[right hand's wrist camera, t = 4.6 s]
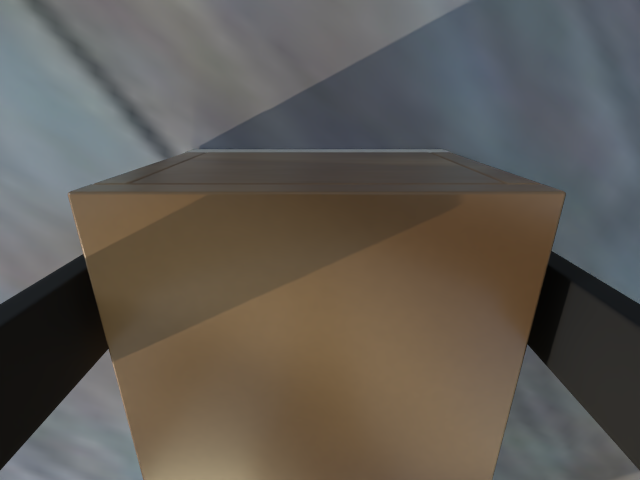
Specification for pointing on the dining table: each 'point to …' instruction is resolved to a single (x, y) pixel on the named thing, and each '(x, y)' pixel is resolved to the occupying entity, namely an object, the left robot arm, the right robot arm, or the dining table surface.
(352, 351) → the cabinet
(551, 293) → the right robot arm
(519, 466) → the dining table surface
